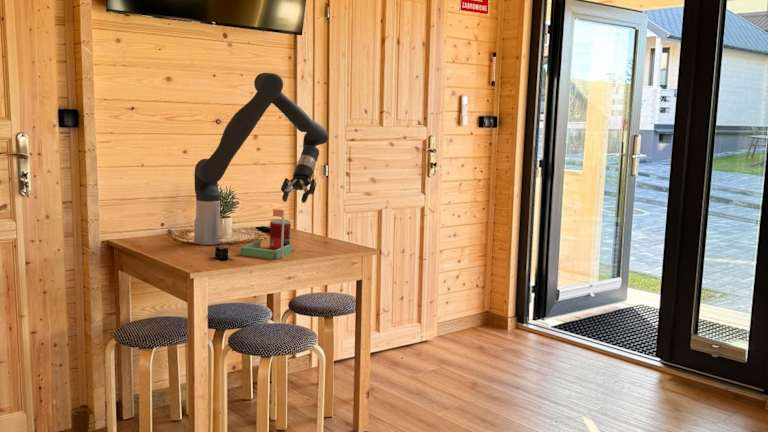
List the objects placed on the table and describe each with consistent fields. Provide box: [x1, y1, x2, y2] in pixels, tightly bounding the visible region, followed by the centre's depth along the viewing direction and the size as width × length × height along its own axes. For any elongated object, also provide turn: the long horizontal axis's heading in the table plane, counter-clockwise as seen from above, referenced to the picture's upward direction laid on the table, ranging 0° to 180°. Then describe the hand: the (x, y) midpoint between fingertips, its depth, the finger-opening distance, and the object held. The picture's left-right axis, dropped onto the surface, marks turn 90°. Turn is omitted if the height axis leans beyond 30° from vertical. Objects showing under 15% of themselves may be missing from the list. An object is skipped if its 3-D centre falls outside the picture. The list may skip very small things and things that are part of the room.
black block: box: [210, 245, 233, 262], centre depth 258 cm, size 12×7×5 cm, turn 44°
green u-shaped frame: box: [240, 208, 293, 260], centre depth 268 cm, size 16×14×18 cm
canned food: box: [269, 218, 291, 250], centre depth 279 cm, size 8×8×11 cm
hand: (293, 201), depth 288 cm, fingers open, 8 cm apart
